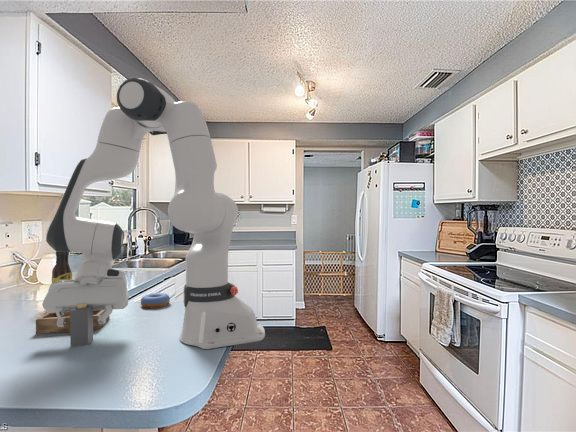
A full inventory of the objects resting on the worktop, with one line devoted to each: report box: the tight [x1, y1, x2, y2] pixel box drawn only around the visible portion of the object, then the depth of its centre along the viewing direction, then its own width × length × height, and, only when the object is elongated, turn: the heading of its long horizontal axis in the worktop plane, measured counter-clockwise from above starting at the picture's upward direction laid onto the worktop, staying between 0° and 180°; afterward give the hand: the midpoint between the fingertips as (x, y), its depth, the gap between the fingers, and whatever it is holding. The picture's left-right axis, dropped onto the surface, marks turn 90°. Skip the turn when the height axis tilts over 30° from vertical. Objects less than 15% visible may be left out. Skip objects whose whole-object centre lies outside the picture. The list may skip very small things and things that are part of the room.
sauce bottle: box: [51, 251, 73, 284], centre depth 128 cm, size 7×6×20 cm
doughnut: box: [140, 292, 171, 309], centre depth 128 cm, size 10×10×5 cm
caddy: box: [35, 310, 111, 335], centre depth 105 cm, size 16×11×4 cm
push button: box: [69, 303, 94, 347], centre depth 91 cm, size 4×4×10 cm
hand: (81, 324), depth 90 cm, fingers open, 8 cm apart
